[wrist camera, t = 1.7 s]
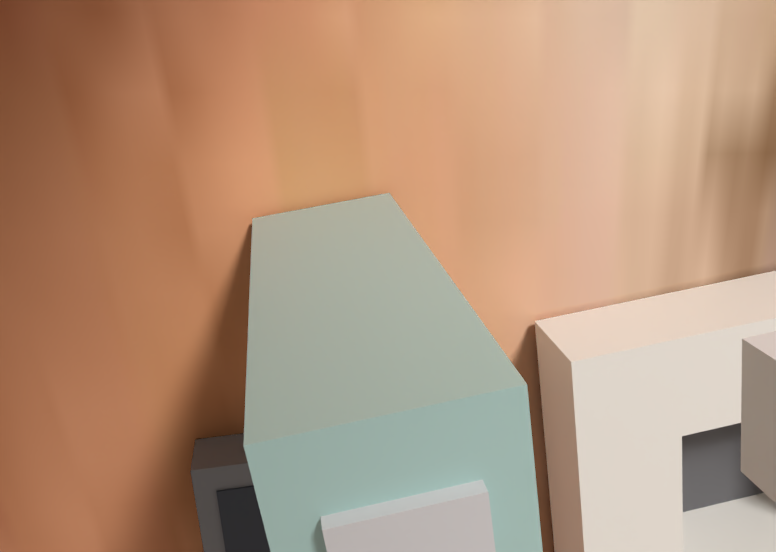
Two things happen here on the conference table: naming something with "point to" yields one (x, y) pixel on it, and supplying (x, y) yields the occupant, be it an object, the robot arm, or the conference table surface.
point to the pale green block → (378, 394)
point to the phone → (226, 496)
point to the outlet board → (654, 422)
